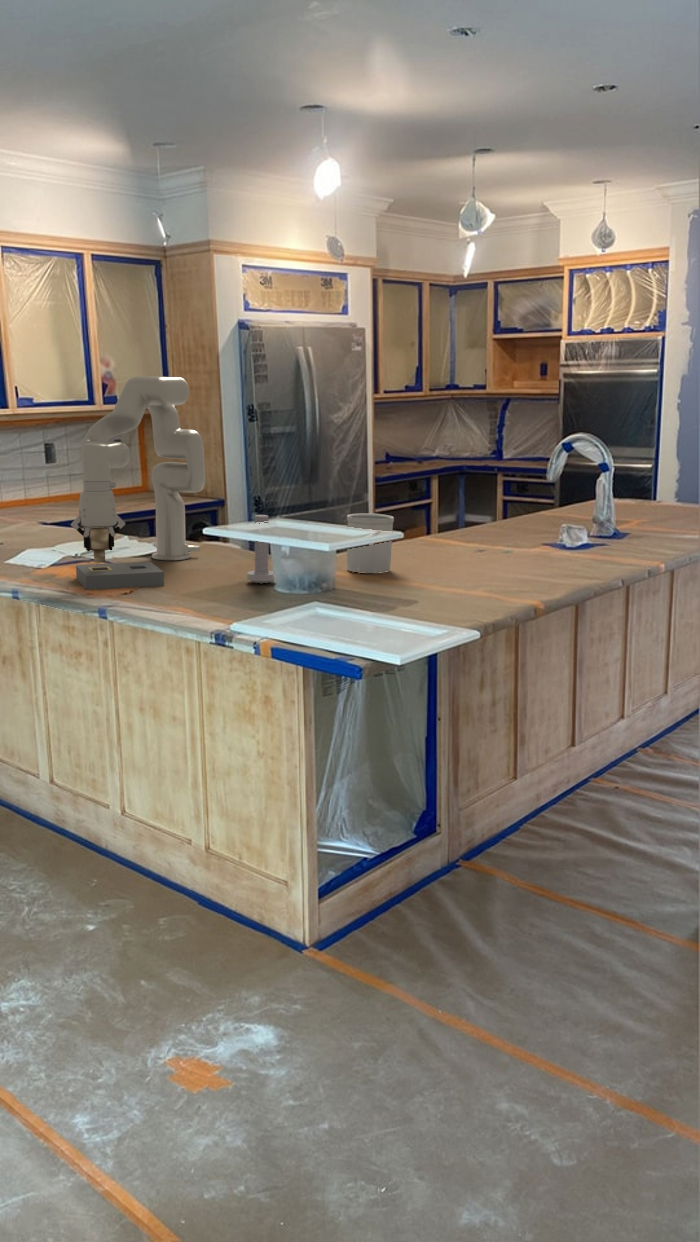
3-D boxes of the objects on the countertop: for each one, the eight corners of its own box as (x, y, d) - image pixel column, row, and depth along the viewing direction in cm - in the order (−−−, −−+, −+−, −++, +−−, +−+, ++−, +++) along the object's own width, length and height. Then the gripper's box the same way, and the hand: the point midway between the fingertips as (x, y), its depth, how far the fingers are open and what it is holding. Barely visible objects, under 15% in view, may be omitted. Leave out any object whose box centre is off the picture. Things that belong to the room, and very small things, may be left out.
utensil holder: (375, 565, 330) (376, 511, 326) (401, 572, 318) (403, 517, 314) (337, 568, 322) (338, 514, 318) (362, 576, 310) (363, 520, 306)
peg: (107, 559, 294) (106, 526, 292) (111, 562, 289) (110, 529, 287) (88, 560, 292) (86, 527, 290) (91, 563, 287) (90, 530, 285)
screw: (281, 583, 297) (282, 516, 292) (258, 586, 291) (258, 518, 287) (264, 579, 303) (264, 513, 298) (241, 582, 297) (241, 514, 293)
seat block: (150, 574, 307) (149, 560, 306) (163, 585, 291) (163, 571, 290) (76, 578, 298) (75, 564, 297) (86, 590, 282) (85, 575, 281)
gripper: (124, 485, 292) (126, 546, 296) (64, 486, 286) (66, 549, 290) (130, 487, 286) (131, 550, 290) (67, 489, 279) (70, 553, 283)
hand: (99, 549), depth 290 cm, fingers closed on peg, 5 cm apart
